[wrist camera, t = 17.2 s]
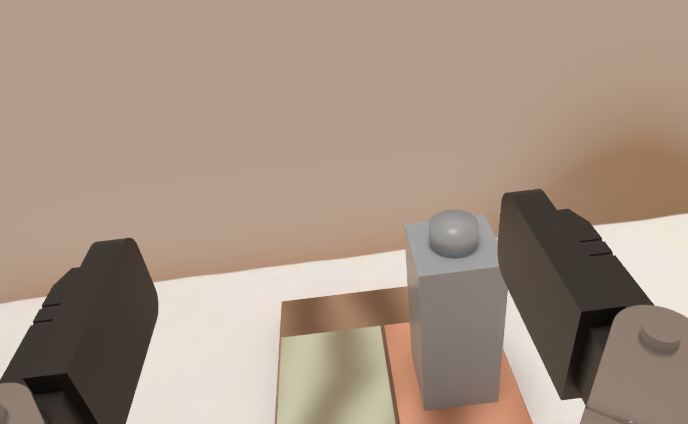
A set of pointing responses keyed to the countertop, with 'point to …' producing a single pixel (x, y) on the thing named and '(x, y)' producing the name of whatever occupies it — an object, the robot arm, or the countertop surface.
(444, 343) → the slate brick
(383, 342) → the walnut board
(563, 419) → the countertop surface
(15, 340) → the countertop surface
